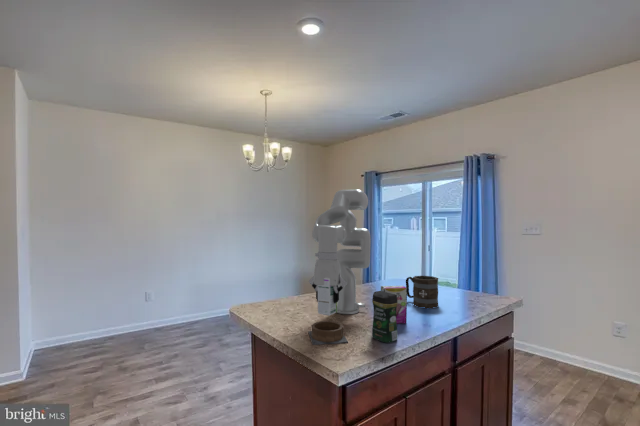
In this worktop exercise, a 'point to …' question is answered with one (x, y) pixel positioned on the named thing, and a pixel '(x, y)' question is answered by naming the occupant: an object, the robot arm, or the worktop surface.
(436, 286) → the mug
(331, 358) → the worktop surface
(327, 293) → the syrup box
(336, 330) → the collar
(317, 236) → the robot arm
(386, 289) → the candy bar box
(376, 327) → the coffee jar
